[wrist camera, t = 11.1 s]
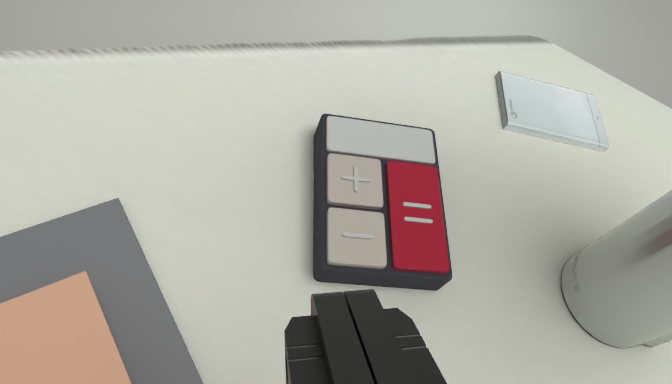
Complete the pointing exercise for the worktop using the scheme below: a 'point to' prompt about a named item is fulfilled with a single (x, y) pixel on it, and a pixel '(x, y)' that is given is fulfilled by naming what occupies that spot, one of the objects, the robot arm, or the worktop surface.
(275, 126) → the worktop surface
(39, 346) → the tile
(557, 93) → the hard drive
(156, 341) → the mat
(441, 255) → the calculator
